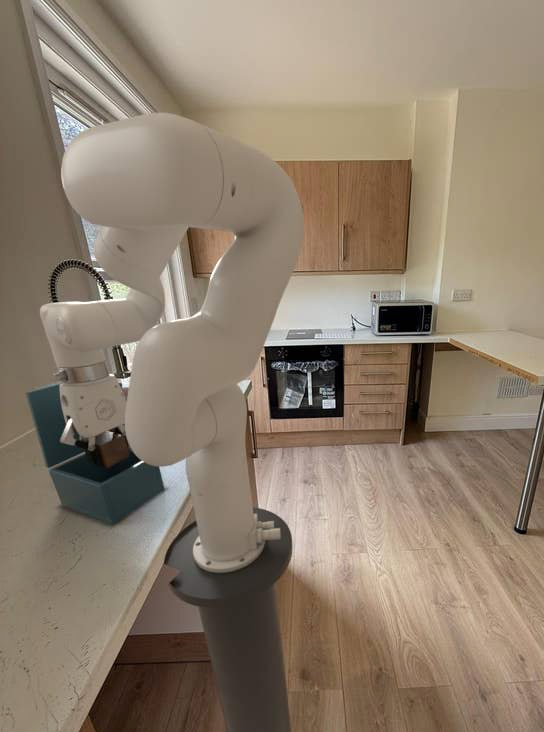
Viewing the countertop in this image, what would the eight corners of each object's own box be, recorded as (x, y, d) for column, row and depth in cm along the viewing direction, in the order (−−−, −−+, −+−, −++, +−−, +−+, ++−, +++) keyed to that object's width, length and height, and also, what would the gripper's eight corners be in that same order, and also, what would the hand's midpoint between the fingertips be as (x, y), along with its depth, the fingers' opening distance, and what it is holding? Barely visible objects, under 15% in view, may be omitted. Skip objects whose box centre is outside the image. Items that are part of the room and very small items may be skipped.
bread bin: (164, 489, 78) (156, 454, 75) (112, 525, 67) (100, 486, 64) (116, 475, 84) (107, 442, 81) (62, 505, 74) (48, 469, 70)
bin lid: (96, 374, 73) (78, 367, 75) (28, 392, 62) (9, 385, 64) (107, 441, 80) (91, 434, 82) (48, 468, 70) (31, 459, 71)
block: (113, 452, 74) (107, 431, 72) (130, 456, 72) (124, 434, 70) (91, 463, 70) (83, 441, 68) (107, 468, 68) (100, 445, 66)
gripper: (47, 388, 55) (81, 485, 62) (138, 363, 70) (157, 444, 77) (20, 383, 58) (55, 476, 65) (113, 360, 72) (134, 438, 80)
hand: (110, 458), depth 71 cm, fingers closed on block, 5 cm apart
